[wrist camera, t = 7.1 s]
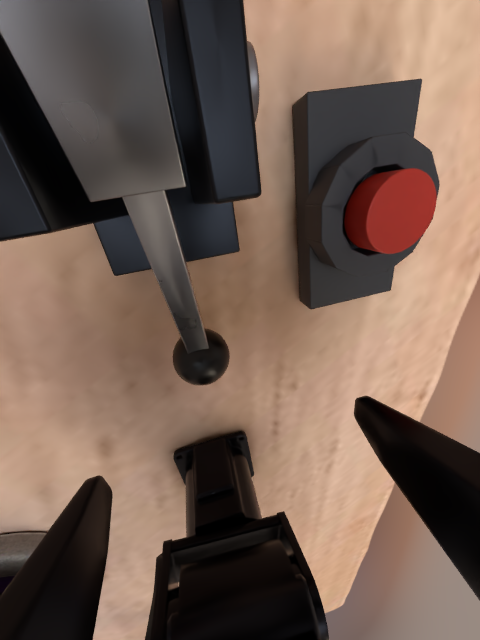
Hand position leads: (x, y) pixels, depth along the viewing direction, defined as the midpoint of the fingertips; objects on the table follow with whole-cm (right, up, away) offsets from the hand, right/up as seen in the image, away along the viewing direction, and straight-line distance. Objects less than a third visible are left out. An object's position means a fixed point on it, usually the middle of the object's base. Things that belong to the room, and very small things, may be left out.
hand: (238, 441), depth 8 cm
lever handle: (-3, +7, +2) cm, 8 cm away
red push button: (+7, +10, +4) cm, 13 cm away
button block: (+6, +11, +7) cm, 15 cm away
